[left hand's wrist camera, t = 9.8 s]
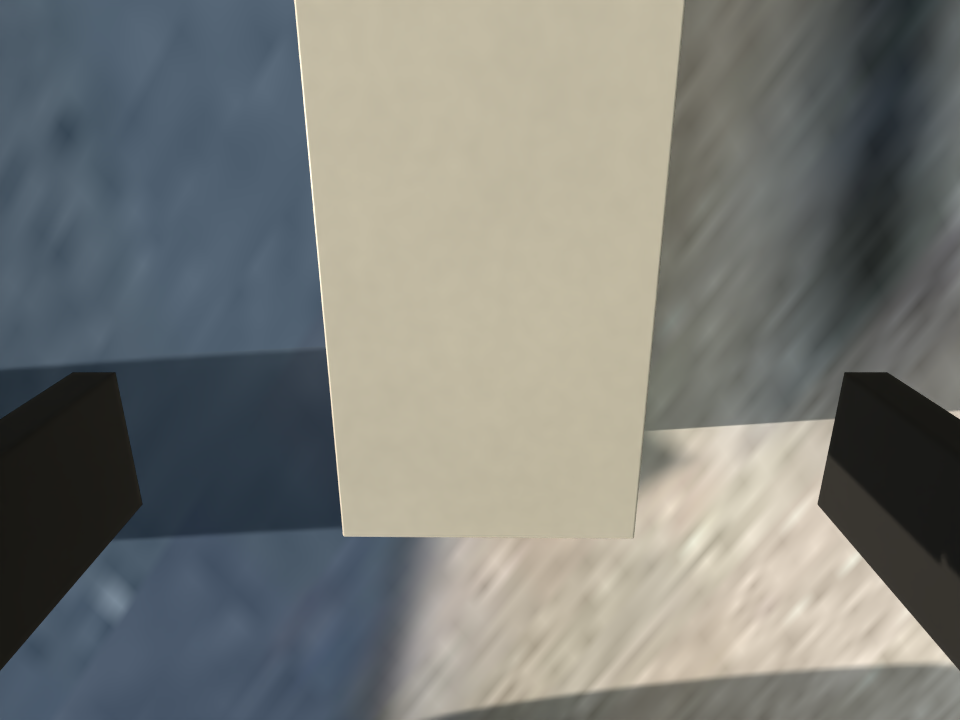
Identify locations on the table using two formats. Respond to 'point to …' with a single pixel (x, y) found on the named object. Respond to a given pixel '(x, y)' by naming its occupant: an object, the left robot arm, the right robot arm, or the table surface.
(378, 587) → the table surface
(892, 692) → the table surface
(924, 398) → the left robot arm
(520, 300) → the wide beam
